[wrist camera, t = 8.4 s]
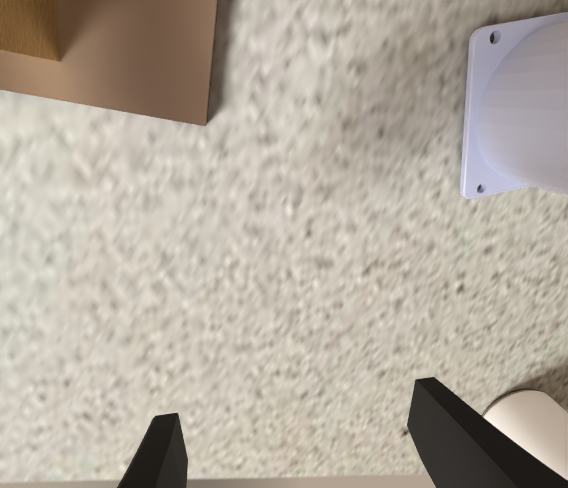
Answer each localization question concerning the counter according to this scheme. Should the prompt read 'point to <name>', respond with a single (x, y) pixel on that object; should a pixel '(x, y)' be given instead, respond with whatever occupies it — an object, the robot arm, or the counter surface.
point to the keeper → (125, 58)
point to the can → (534, 426)
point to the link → (30, 28)
